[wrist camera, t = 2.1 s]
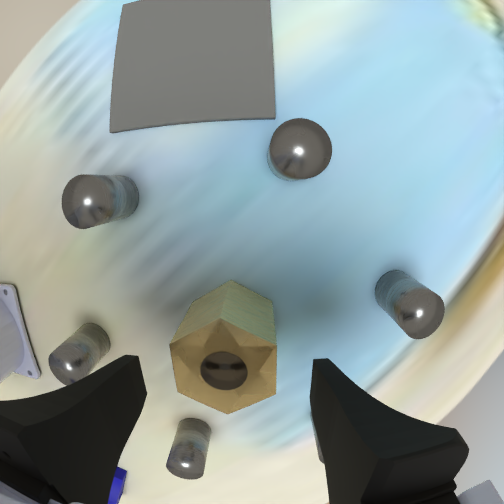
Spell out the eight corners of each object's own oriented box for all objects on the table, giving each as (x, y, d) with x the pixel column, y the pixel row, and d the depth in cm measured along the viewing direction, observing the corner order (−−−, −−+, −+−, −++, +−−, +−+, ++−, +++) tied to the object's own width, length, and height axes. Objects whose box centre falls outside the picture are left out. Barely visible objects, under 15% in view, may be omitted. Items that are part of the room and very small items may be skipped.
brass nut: (199, 359, 18) (181, 412, 13) (191, 279, 16) (165, 317, 12) (271, 359, 17) (275, 414, 12) (271, 279, 16) (277, 317, 11)
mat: (112, 133, 15) (109, 132, 14) (125, 7, 13) (123, 4, 13) (274, 119, 15) (275, 117, 14) (268, -12, 13) (268, -15, 12)
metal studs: (110, 427, 19) (91, 459, 15) (58, 158, 15) (16, 155, 11) (378, 430, 19) (393, 466, 15) (415, 144, 15) (455, 135, 11)
